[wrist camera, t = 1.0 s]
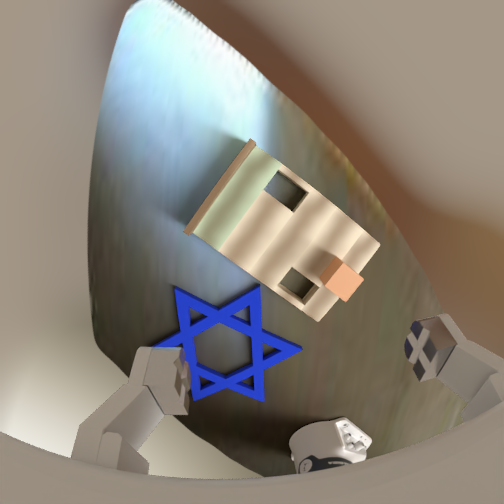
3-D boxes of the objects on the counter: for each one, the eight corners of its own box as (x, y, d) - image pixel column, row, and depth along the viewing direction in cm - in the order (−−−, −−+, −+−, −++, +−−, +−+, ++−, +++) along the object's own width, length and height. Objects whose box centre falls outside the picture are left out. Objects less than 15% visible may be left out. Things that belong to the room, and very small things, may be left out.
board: (374, 241, 48) (387, 248, 43) (315, 315, 52) (321, 329, 46) (251, 144, 46) (250, 138, 40) (192, 226, 49) (183, 231, 43)
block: (355, 271, 47) (364, 279, 42) (338, 292, 47) (345, 301, 43) (335, 255, 46) (343, 262, 42) (318, 277, 47) (324, 286, 43)
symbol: (323, 317, 50) (247, 423, 56) (322, 313, 52) (248, 417, 58) (191, 251, 48) (138, 374, 54) (193, 249, 50) (141, 370, 56)
